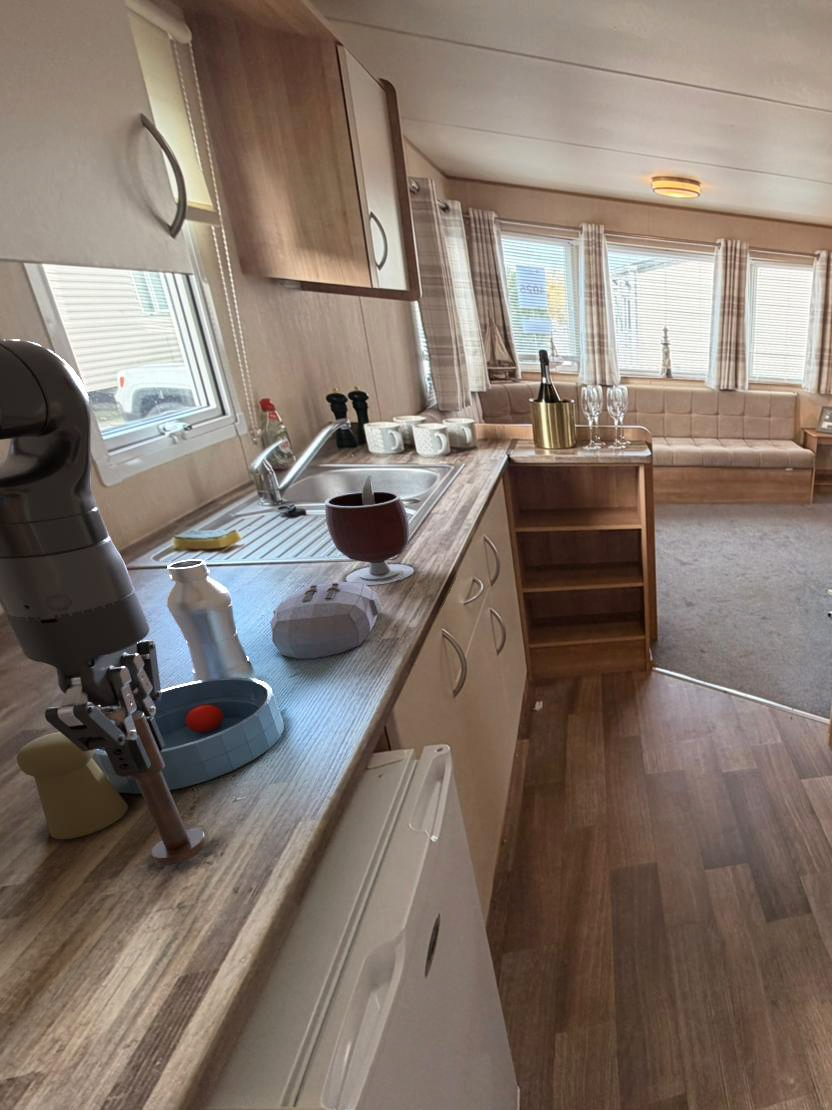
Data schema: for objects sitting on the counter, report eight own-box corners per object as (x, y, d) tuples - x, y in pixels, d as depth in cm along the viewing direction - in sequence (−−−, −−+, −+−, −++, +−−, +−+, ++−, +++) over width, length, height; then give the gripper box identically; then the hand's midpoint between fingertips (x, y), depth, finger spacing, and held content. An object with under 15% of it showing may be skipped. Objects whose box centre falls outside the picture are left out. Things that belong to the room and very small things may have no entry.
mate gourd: (413, 585, 132) (393, 491, 124) (334, 592, 127) (308, 494, 119) (423, 561, 145) (406, 474, 137) (352, 566, 140) (329, 476, 132)
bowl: (71, 815, 70) (48, 771, 68) (140, 729, 84) (123, 691, 82) (265, 778, 77) (250, 737, 74) (299, 705, 91) (287, 668, 89)
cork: (33, 839, 67) (-15, 753, 62) (99, 800, 72) (59, 719, 68) (83, 847, 66) (38, 761, 62) (146, 807, 71) (108, 726, 67)
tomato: (186, 741, 81) (176, 717, 80) (196, 725, 84) (187, 702, 83) (222, 735, 83) (213, 711, 81) (230, 720, 86) (222, 697, 84)
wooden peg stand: (146, 870, 62) (82, 734, 56) (163, 842, 65) (105, 710, 59) (199, 859, 64) (143, 725, 57) (213, 832, 67) (161, 703, 61)
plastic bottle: (198, 690, 93) (149, 562, 85) (256, 675, 98) (216, 552, 90) (203, 709, 89) (152, 576, 81) (264, 692, 94) (222, 565, 86)
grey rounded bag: (293, 618, 116) (259, 670, 99) (281, 576, 112) (243, 622, 96) (390, 608, 121) (373, 656, 105) (380, 568, 118) (361, 610, 101)
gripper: (55, 571, 58) (124, 730, 64) (-52, 636, 46) (46, 821, 53) (163, 563, 61) (218, 716, 67) (88, 623, 49) (164, 799, 56)
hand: (142, 761), depth 60 cm, fingers closed on wooden peg stand, 2 cm apart
